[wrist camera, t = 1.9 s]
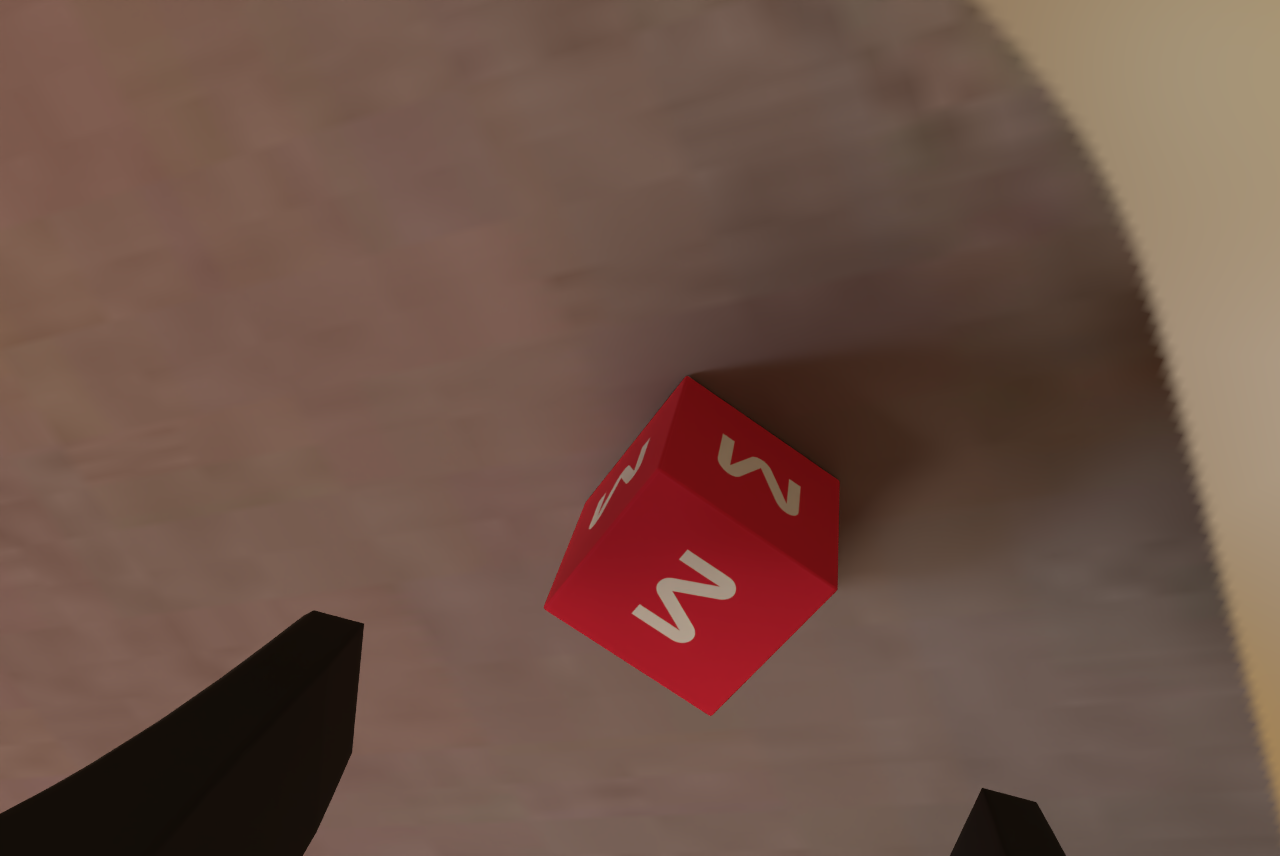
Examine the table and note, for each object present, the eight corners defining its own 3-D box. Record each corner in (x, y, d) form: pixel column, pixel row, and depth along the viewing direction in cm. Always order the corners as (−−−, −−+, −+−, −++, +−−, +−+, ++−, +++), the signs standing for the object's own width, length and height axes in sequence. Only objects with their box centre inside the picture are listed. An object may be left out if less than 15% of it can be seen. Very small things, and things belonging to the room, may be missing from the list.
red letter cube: (729, 598, 20) (711, 718, 17) (584, 502, 19) (542, 609, 16) (840, 480, 18) (839, 590, 15) (686, 373, 18) (657, 468, 15)
